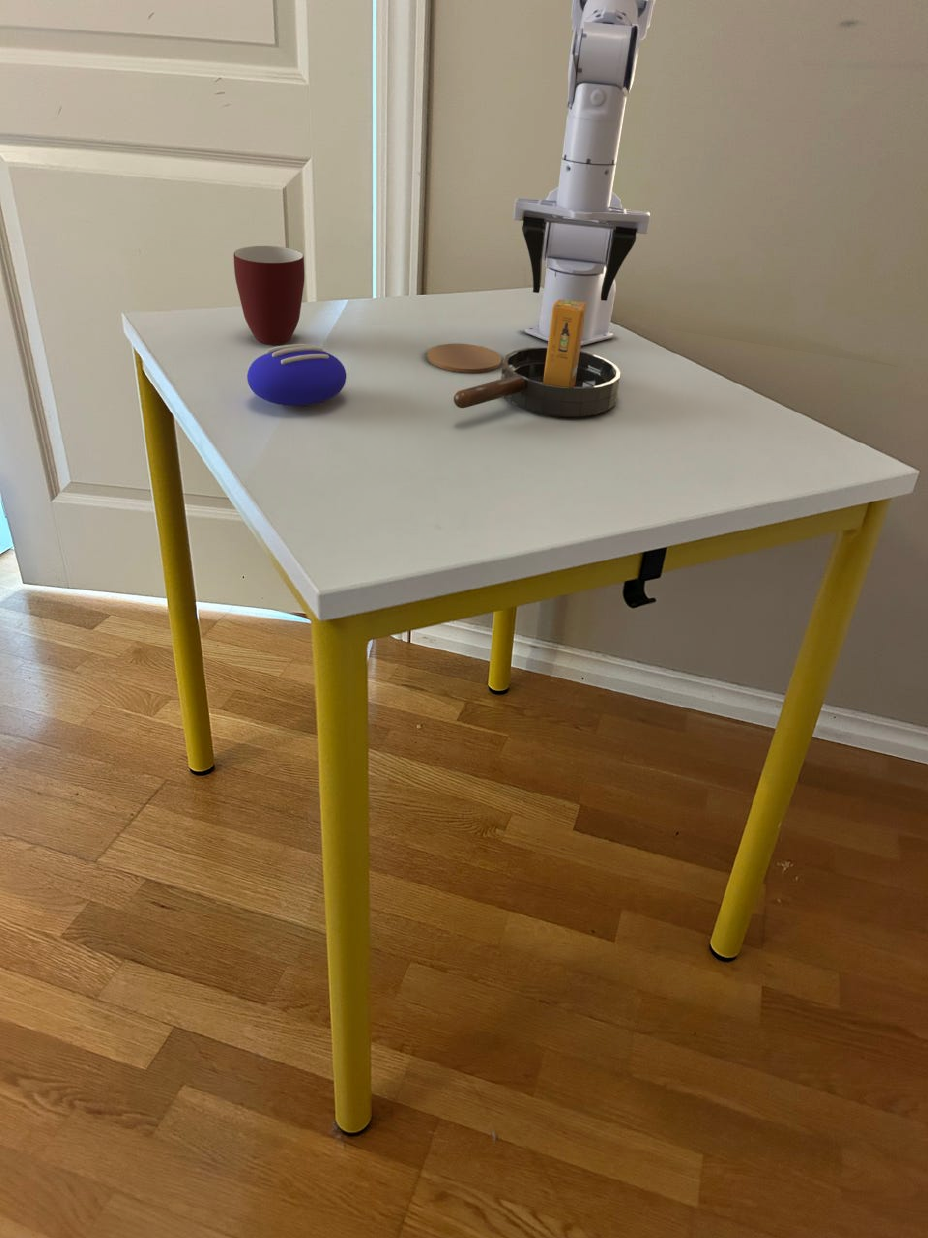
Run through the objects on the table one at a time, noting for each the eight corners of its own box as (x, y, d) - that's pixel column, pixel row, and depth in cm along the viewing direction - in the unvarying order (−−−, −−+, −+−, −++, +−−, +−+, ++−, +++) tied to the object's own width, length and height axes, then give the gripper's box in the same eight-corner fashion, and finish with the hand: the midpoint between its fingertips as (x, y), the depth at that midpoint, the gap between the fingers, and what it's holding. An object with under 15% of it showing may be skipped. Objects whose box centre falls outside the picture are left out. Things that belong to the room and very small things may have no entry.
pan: (553, 368, 107) (557, 339, 105) (637, 403, 100) (643, 373, 98) (476, 389, 100) (479, 359, 98) (561, 429, 92) (566, 397, 90)
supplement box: (575, 390, 100) (589, 301, 95) (568, 401, 98) (582, 309, 92) (547, 385, 101) (559, 296, 95) (539, 395, 99) (551, 304, 93)
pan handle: (516, 387, 96) (518, 371, 94) (528, 392, 95) (530, 376, 93) (449, 406, 90) (450, 389, 89) (461, 412, 89) (462, 395, 88)
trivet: (466, 342, 113) (466, 338, 112) (516, 364, 107) (516, 360, 107) (412, 355, 107) (412, 351, 107) (462, 378, 102) (462, 374, 102)
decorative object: (326, 318, 95) (361, 361, 89) (326, 367, 99) (359, 412, 93) (229, 329, 91) (258, 376, 85) (234, 381, 95) (262, 428, 89)
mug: (249, 321, 113) (243, 238, 107) (312, 325, 114) (310, 243, 108) (233, 348, 105) (226, 260, 99) (302, 352, 105) (299, 265, 99)
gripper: (517, 158, 89) (503, 295, 97) (660, 173, 88) (634, 310, 96) (522, 150, 95) (509, 280, 103) (656, 164, 94) (633, 294, 102)
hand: (570, 294), depth 100 cm, fingers open, 7 cm apart
